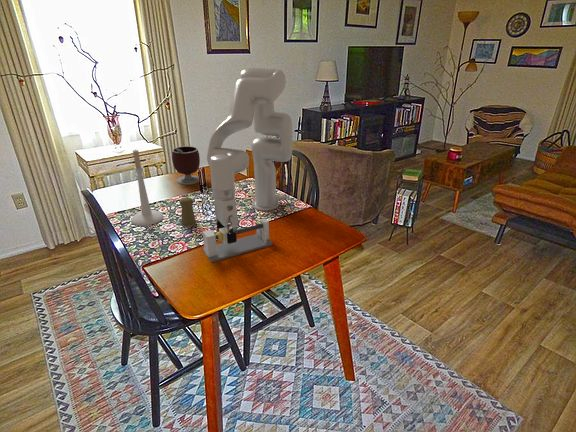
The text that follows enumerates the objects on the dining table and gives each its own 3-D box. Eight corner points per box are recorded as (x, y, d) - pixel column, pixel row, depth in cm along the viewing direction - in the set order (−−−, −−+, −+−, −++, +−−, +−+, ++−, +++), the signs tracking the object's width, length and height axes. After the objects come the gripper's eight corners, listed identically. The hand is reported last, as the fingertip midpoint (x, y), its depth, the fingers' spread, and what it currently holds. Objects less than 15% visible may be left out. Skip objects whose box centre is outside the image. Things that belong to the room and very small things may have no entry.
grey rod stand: (261, 234, 139) (261, 214, 135) (272, 244, 132) (272, 223, 128) (202, 250, 128) (200, 228, 124) (211, 262, 121) (209, 240, 117)
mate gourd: (183, 174, 198) (179, 139, 189) (206, 177, 195) (203, 141, 186) (168, 184, 185) (163, 147, 176) (192, 187, 182) (188, 149, 173)
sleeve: (230, 235, 128) (229, 226, 127) (234, 240, 125) (233, 230, 124) (219, 238, 127) (218, 228, 125) (223, 243, 124) (223, 233, 122)
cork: (192, 226, 143) (189, 202, 139) (178, 225, 144) (175, 200, 140) (198, 220, 149) (196, 196, 144) (185, 218, 150) (182, 195, 145)
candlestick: (129, 215, 151) (115, 147, 138) (160, 210, 157) (149, 143, 144) (133, 228, 141) (119, 155, 128) (166, 221, 147) (155, 151, 134)
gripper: (244, 199, 113) (246, 244, 121) (224, 181, 126) (227, 224, 134) (222, 203, 109) (226, 250, 117) (204, 185, 123) (208, 228, 130)
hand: (226, 236), depth 125 cm, fingers open, 9 cm apart
